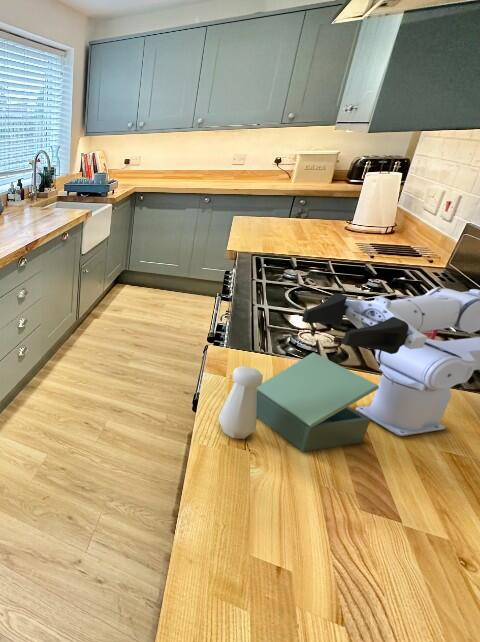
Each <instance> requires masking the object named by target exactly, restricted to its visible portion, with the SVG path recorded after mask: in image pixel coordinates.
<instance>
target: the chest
mask: <svg viewBox="0 0 480 642" xmlns="http://www.w3.org/2000/svg"><path fill="white" fill-rule="evenodd" d="M257 418H258V419H260V420H261V421H262V422H264V423H265V424H266V425H267V426H268V427H270V428H272V429H273V430H274V431H275V432H277V433H278V434H279V435H280V436H281V437H283V438H284V439H286V440H287V441H288V442H289V443H291V444H292V445H293V446H295V447H296V448H297V449H299V450H300V451H301V452H303V453H305V452H310V451H316V450H322V449H329V448H336V447H341V446H346V445H347V446H348V445H352V444H360V443H363V441H364V438H365V436H366V434H367V430H368V427H369V425H370V422H371V419H370V418H368V417H366V416H365V415H363V414H361V413H359V412H358V411H356V410H355V409H354V408H351V407H350V406H348V407H346V408H344V409H343V410H341V411H339V412H338V413H336V414H334V415H332V416H331V417H329V418H327V419H326V420H324V421H322V422H320V423H319V424H317V425H315V426H314V427H312V428H310V427H309V426H308V425H306V424H305V423H303V422H302V421H300V420H299V419H298V418H296V417H295V416H293V415H292V414H290V413H289V412H288V411H286V410H285V409H283V408H282V407H280V406H279V405H278V404H276V403H275V402H273V401H272V400H270V399H269V398H268V397H266V396H265V395H263V394H262V393H260V392H259V391H258V390H257Z"/></svg>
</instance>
